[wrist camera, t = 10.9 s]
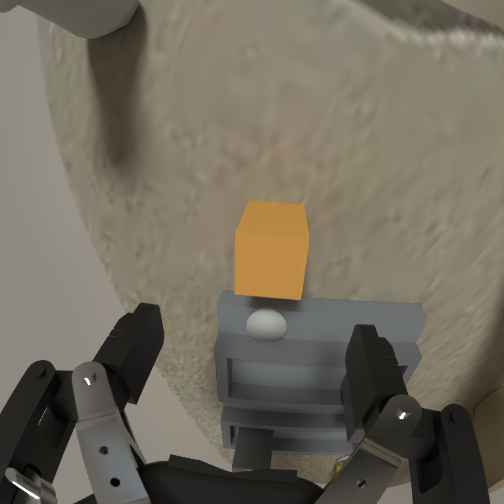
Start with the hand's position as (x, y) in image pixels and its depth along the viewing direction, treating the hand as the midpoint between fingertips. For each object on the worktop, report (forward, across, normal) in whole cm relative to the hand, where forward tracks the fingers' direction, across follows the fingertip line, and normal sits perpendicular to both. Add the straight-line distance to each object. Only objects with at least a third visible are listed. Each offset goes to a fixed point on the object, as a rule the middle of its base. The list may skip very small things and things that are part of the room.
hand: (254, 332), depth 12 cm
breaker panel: (+12, -6, +19) cm, 23 cm away
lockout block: (+12, 0, 0) cm, 12 cm away
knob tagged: (+9, -1, +25) cm, 27 cm away
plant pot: (+11, -40, +26) cm, 49 cm away
